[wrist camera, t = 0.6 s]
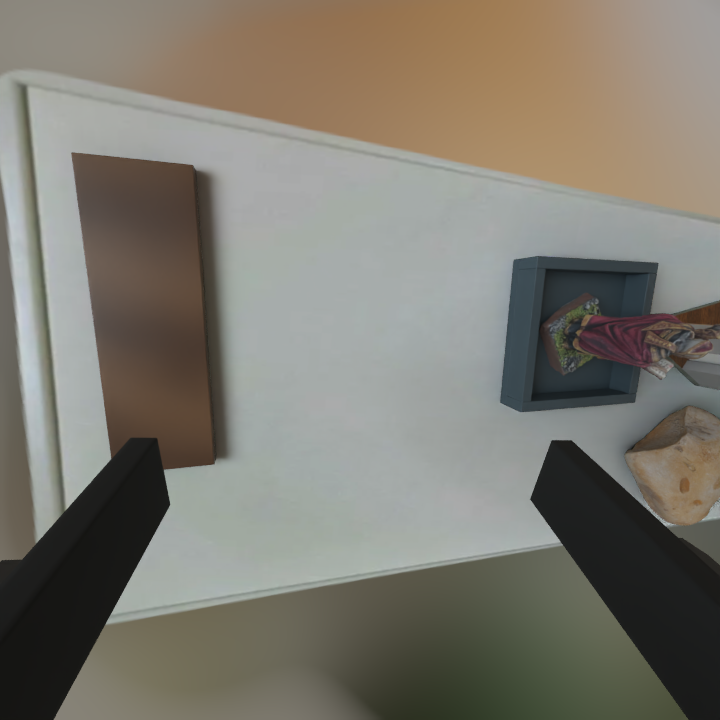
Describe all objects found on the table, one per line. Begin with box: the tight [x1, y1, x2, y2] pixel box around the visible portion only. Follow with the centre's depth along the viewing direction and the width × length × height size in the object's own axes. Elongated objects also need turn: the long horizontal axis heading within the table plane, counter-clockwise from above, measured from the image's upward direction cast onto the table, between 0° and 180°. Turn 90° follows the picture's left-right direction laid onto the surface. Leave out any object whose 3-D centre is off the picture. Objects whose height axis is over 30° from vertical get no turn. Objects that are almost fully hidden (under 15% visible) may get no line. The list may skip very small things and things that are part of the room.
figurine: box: [539, 293, 720, 380], centre depth 28 cm, size 6×6×12 cm
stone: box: [624, 406, 720, 526], centre depth 38 cm, size 14×11×8 cm
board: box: [71, 153, 216, 470], centre depth 24 cm, size 22×7×1 cm, turn 179°
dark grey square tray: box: [500, 256, 658, 412], centre depth 33 cm, size 14×14×3 cm
